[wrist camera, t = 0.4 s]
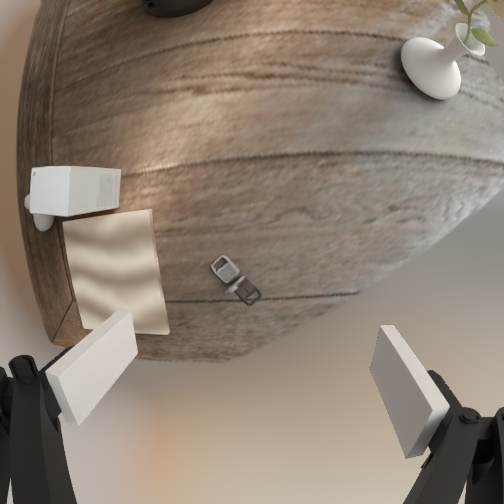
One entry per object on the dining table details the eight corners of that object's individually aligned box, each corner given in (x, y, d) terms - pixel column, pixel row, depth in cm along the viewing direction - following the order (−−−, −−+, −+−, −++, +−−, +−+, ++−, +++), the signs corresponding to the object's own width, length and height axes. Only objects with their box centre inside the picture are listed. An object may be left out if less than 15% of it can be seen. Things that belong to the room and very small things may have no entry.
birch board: (66, 221, 43) (62, 222, 42) (151, 208, 41) (148, 209, 40) (87, 326, 47) (83, 328, 46) (170, 331, 45) (167, 334, 44)
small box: (82, 206, 42) (28, 213, 30) (84, 168, 41) (30, 166, 28) (119, 209, 42) (67, 217, 29) (122, 168, 40) (70, 164, 28)
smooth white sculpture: (64, 218, 44) (47, 235, 44) (46, 186, 43) (29, 203, 43) (53, 216, 40) (35, 235, 40) (35, 182, 39) (18, 201, 38)
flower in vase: (463, 101, 33) (564, 62, 8) (411, 103, 34) (515, 43, 10) (436, 36, 30) (510, -31, 6) (383, 33, 32) (446, -59, 7)
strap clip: (209, 265, 42) (202, 273, 38) (224, 251, 42) (218, 258, 38) (249, 305, 43) (246, 317, 39) (264, 293, 43) (262, 304, 38)
